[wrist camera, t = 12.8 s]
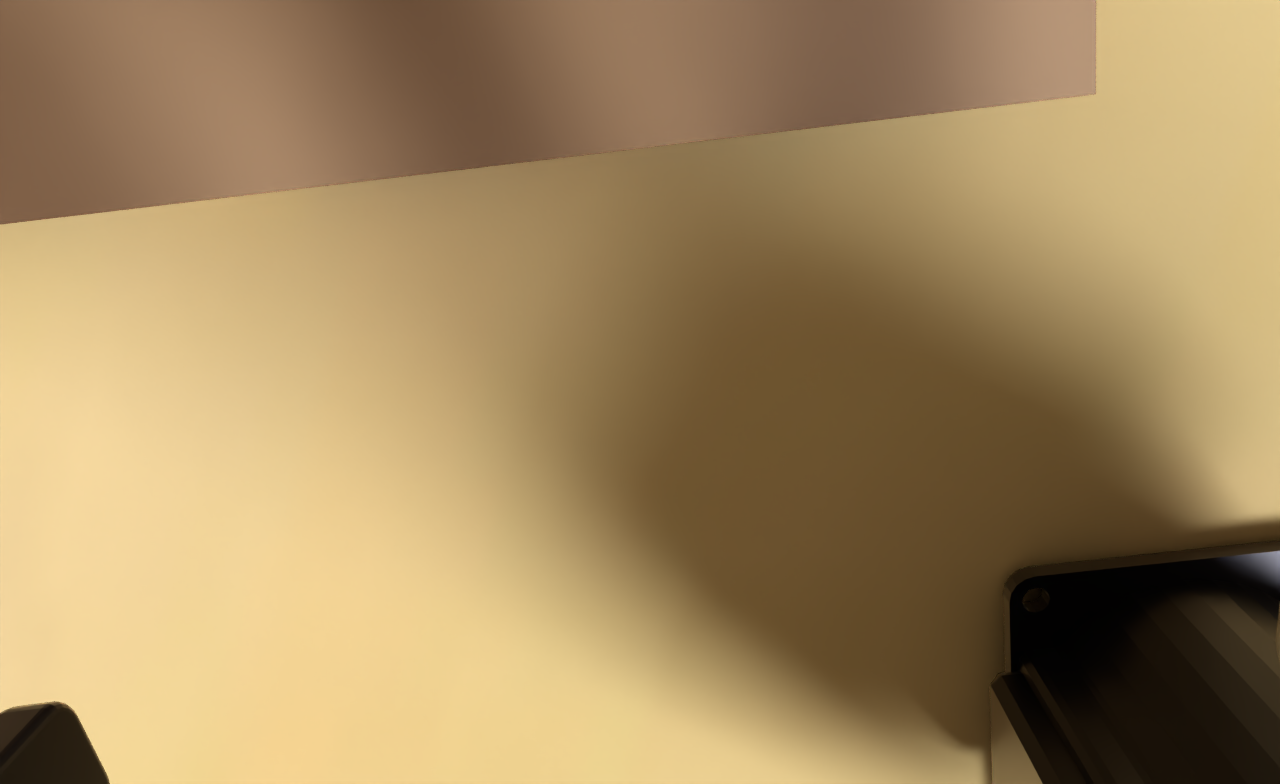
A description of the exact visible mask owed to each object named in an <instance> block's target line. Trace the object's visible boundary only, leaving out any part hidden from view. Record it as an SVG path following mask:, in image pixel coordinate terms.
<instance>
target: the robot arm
mask: <svg viewBox="0 0 1280 784" xmlns="http://www.w3.org/2000/svg"><path fill="white" fill-rule="evenodd" d="M1034 588H1041V589H1043V590H1042V594H1041V596H1040V597H1039V598H1038V599H1037V600H1035V601H1032V602H1023V601H1022V600H1023V597H1024V595H1025V594H1026V593H1027V592H1028V591H1029V590H1031V589H1034ZM1003 614H1004V656H1005V673H999V674H998V675H997V676H996V678H995V679H994V680H993V682H992V683H991V684H990V687H989V690H990V725H991V760H992V784H1280V540H1279V541H1270V542H1260V543H1250V544H1241V545H1231V546H1222V547H1212V548H1203V549H1193V550H1184V551H1174V552H1164V553H1155V554H1145V555H1136V556H1126V557H1117V558H1107V559H1098V560H1088V561H1078V562H1069V563H1059V564H1050V565H1040V566H1031V567H1026V568H1023V569H1019V570H1017V571H1016V572H1015V573H1013V574H1012V575H1010V577H1009V578H1008V580H1007V581H1006V583H1005V585H1004V590H1003ZM0 784H110V783H109V779H108V776H107V774H106V772H105V770H104V768H103V766H102V764H101V762H100V760H99V758H98V756H97V754H96V752H95V750H94V748H93V746H92V744H91V742H90V740H89V738H88V736H87V734H86V732H85V730H84V728H83V726H82V724H81V722H80V720H79V718H78V716H77V715H76V713H75V712H74V710H73V709H72V708H70V707H69V706H68V705H66V704H65V703H61V702H47V703H39V704H31V705H23V706H17V707H12V708H10V709H7V710H5V711H3V712H2V713H0Z"/></svg>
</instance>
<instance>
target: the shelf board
mask: <svg viewBox="0 0 1280 784" xmlns="http://www.w3.org/2000/svg"><path fill="white" fill-rule="evenodd" d="M1094 94H1096V0H0V224H8V223H16V222H25V221H33V220H41V219H50V218H58V217H67V216H75V215H84V214H92V213H100V212H109V211H117V210H126V209H134V208H142V207H151V206H159V205H168V204H176V203H185V202H193V201H201V200H210V199H218V198H227V197H235V196H244V195H252V194H260V193H269V192H277V191H286V190H294V189H302V188H311V187H319V186H328V185H336V184H345V183H353V182H361V181H370V180H378V179H387V178H395V177H403V176H412V175H420V174H429V173H437V172H446V171H454V170H462V169H471V168H479V167H488V166H496V165H505V164H513V163H521V162H530V161H538V160H547V159H555V158H563V157H572V156H580V155H589V154H597V153H606V152H614V151H622V150H631V149H639V148H648V147H656V146H665V145H673V144H681V143H690V142H698V141H707V140H715V139H723V138H732V137H740V136H749V135H757V134H766V133H774V132H782V131H791V130H799V129H808V128H816V127H824V126H833V125H841V124H850V123H858V122H867V121H875V120H883V119H892V118H900V117H909V116H917V115H926V114H934V113H942V112H951V111H959V110H968V109H976V108H984V107H993V106H1001V105H1010V104H1018V103H1027V102H1035V101H1043V100H1052V99H1060V98H1069V97H1077V96H1086V95H1094Z"/></svg>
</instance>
